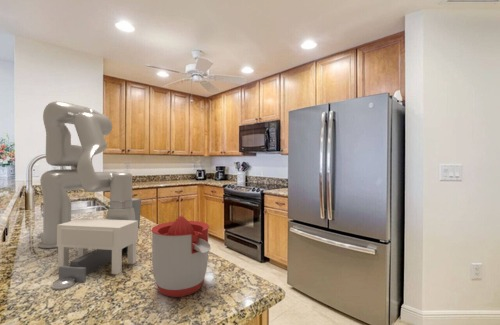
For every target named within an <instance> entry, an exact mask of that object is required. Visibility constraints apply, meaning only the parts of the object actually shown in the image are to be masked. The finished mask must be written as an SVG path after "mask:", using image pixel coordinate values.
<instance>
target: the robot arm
mask: <svg viewBox="0 0 500 325" xmlns="http://www.w3.org/2000/svg"><path fill="white" fill-rule="evenodd" d="M42 120H43V125H44V129H45V160H46V163H47V164H48V165H49V166H53V167H70V169H69V168H67V169H65V168H64V169H63V168H62V169H61V168H60V169H58V168H57V169H50V170H47V171H45V172H43V173H42V174H41V177H40V181H39V182H40V187H41V192H42V199H43V201H42V202H43V209H42V210H43V222H42V226H43V228H42V230H43V231H42V232H41V233H40V234H39V235H37V236H36V240H37V239H38V240H40V242H38V243H37V245H38V246H37V247H38V248H40V249H56V248H58V247H57V225H59V224H63V223H66V222H70V221H72V200H71V197H70V195H69V194H68V193H67V192H72V191H80V190H83V189H84V190H85V191H86V192H88V193H99V192H108V191H109V193H110V194H109V198H110V199H109V201H108V202H107V205H108V206H109V208H108V209H107V212H106V215H105V216H106V217H105V219H109V220H133V221H136V220H135V212H134V208H132V198H133V175H132V174H131V173H130V172H117V171H95V169H94V165H93V157H95V156H96V155H98V154H101V153H102V152H104V151H105V150H106V149H107V146H108V145H107V142H106V139H105V136H107V135H109V134H110V133H111V132H112V130H113V123H112V121H111V119H110V118H109V117H108V116H107V115H105V114H103V113H100V112H99V111H96V110H94V109H92V108H90V107H86V106H83V105H78V104H74V103H69V102H65V101H52V102H49V103H47V105H45V106H44V110H43V113H42ZM66 124H69V125H74V127H75V131H76V134H77V138H78V140H79V142H80V145H78V144H77V145H75V144H72V140H71V139H72V134H71V132H70V130H69V128H68V127H67V125H66ZM126 253H127V254H128V246H127V247H125V248H123V249H122V256H124V255H125V254H126Z"/></svg>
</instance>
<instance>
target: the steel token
mask: <svg viewBox="0 0 500 325" xmlns="http://www.w3.org/2000/svg"><path fill="white" fill-rule="evenodd" d="M75 283H76V282H75V278H74V277H64V278H60V279H59V278H58V279H55V280H54V281H53V282H52V290H55V291H60V290H61V291H62V290H66V289H68V288H71V287H73V286H74V285H75Z"/></svg>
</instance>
